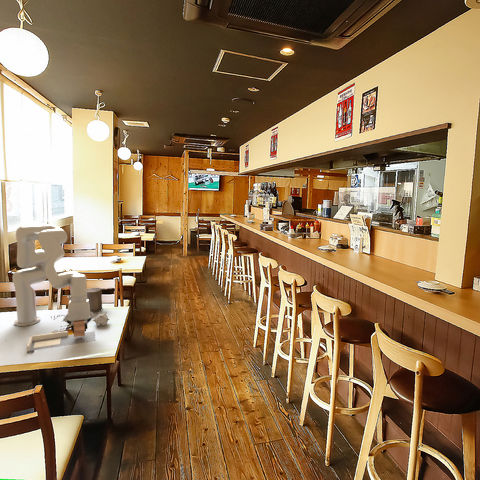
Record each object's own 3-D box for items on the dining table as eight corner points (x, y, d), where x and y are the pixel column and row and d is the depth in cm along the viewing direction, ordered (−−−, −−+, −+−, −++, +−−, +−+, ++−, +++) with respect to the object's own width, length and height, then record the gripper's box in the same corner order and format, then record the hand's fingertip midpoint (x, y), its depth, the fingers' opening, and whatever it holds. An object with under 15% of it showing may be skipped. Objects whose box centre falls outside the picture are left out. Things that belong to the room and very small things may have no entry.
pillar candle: (105, 308, 216) (104, 286, 214) (95, 313, 207) (94, 290, 205) (93, 306, 219) (92, 285, 217) (82, 311, 210) (81, 289, 207)
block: (74, 328, 173) (73, 316, 172) (84, 327, 176) (84, 315, 175) (73, 337, 165) (73, 324, 164) (84, 335, 167) (84, 322, 166)
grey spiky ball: (103, 333, 187) (101, 324, 180) (90, 327, 188) (89, 318, 181) (113, 321, 193) (112, 312, 186) (101, 315, 194) (99, 306, 187)
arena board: (30, 342, 166) (30, 335, 165) (94, 333, 179) (94, 327, 178) (27, 353, 155) (26, 346, 155) (95, 342, 168) (95, 336, 168)
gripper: (59, 302, 160) (60, 336, 163) (97, 298, 168) (97, 331, 171) (60, 297, 167) (61, 330, 170) (96, 294, 174) (96, 326, 177)
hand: (79, 330), depth 170 cm, fingers closed on block, 5 cm apart
